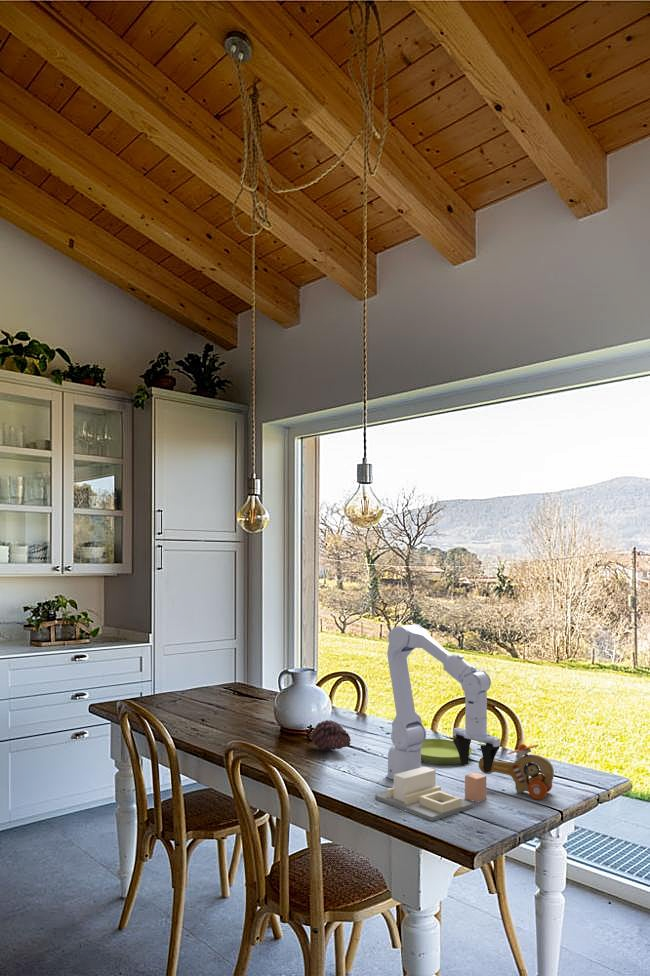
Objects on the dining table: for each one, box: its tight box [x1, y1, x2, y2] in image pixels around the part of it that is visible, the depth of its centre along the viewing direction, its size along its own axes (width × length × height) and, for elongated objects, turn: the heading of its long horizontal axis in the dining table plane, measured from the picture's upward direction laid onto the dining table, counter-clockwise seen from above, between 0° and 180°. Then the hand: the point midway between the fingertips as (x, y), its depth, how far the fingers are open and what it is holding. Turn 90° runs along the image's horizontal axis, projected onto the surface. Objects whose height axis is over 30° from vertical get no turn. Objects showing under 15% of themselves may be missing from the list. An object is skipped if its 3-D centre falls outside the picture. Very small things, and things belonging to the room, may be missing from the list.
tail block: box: [464, 772, 487, 803], centre depth 202 cm, size 4×4×6 cm
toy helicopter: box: [478, 743, 555, 801], centre depth 209 cm, size 8×21×14 cm, turn 60°
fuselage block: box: [393, 766, 437, 802], centre depth 201 cm, size 4×12×6 cm, turn 130°
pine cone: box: [309, 719, 352, 752], centre depth 244 cm, size 18×10×10 cm, turn 41°
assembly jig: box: [375, 785, 474, 822], centre depth 197 cm, size 20×16×3 cm
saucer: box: [421, 738, 473, 765], centre depth 240 cm, size 21×21×3 cm
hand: (475, 768), depth 202 cm, fingers open, 7 cm apart
